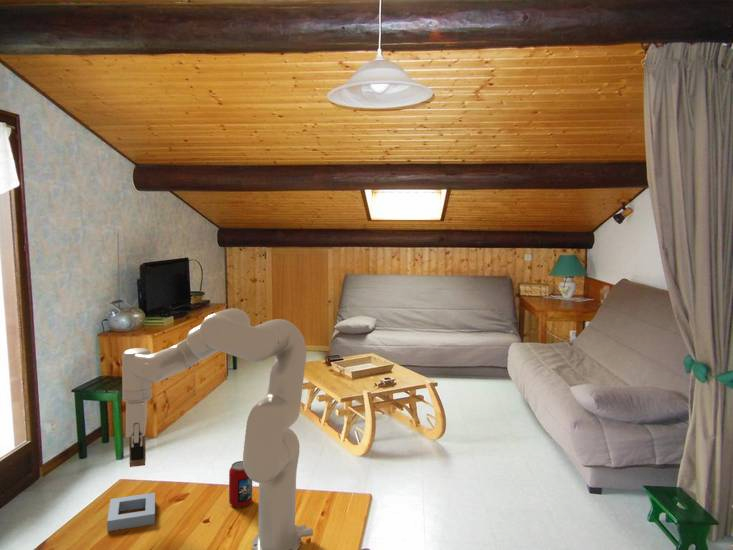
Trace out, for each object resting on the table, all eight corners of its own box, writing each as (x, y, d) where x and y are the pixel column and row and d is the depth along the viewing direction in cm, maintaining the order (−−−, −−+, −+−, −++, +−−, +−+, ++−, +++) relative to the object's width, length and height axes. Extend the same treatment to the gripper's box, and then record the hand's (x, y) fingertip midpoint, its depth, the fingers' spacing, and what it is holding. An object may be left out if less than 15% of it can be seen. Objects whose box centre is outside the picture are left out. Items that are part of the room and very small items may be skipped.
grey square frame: (155, 502, 163) (155, 492, 163) (154, 523, 152) (154, 513, 152) (110, 508, 159) (110, 498, 158) (107, 531, 148) (107, 521, 147)
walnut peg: (145, 459, 157) (145, 422, 156) (145, 465, 153) (144, 427, 152) (130, 460, 155) (130, 423, 154) (129, 467, 152) (129, 429, 150)
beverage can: (246, 510, 160) (246, 471, 159) (225, 507, 161) (225, 468, 160) (255, 498, 167) (256, 461, 165) (235, 495, 168) (235, 458, 167)
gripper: (124, 384, 158) (125, 445, 161) (120, 404, 143) (120, 471, 145) (152, 382, 161) (152, 442, 163) (150, 402, 145) (151, 467, 148)
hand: (137, 455), depth 154 cm, fingers closed on walnut peg, 4 cm apart
